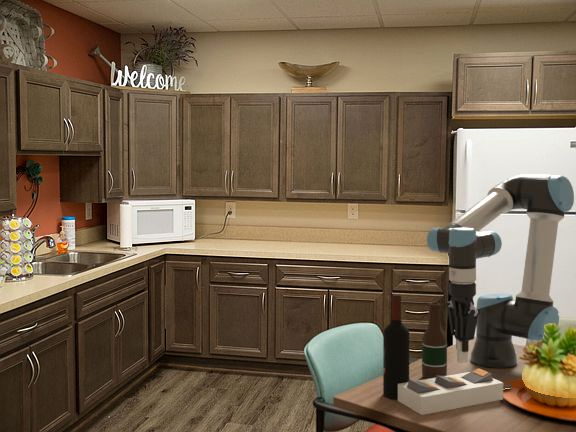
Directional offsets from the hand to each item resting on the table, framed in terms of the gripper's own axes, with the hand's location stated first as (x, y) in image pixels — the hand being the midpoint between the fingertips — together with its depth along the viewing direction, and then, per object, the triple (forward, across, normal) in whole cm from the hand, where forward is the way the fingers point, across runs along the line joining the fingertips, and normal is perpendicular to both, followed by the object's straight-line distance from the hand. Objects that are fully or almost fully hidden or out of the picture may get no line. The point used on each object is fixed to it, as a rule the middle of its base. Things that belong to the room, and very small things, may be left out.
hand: (462, 361), depth 196 cm
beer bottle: (+11, -19, +4) cm, 22 cm away
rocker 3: (+7, 0, +6) cm, 9 cm away
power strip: (+11, 0, 0) cm, 11 cm away
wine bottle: (+11, -10, -16) cm, 22 cm away
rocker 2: (+7, 0, -5) cm, 8 cm away
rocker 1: (+7, 0, -14) cm, 16 cm away
